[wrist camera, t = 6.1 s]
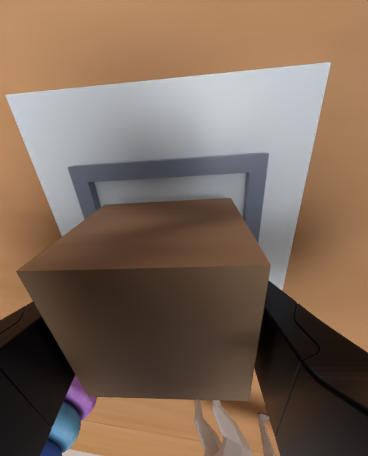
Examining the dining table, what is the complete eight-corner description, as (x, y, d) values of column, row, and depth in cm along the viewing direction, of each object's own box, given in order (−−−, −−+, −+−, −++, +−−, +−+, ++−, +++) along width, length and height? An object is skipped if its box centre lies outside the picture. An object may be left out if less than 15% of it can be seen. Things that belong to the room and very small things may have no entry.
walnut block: (230, 198, 9) (270, 265, 4) (226, 295, 11) (248, 401, 7) (104, 204, 9) (16, 271, 5) (129, 296, 12) (88, 396, 7)
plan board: (316, 70, 8) (341, 56, 7) (269, 317, 15) (277, 336, 14) (23, 98, 9) (-8, 91, 8) (104, 318, 16) (95, 336, 15)
